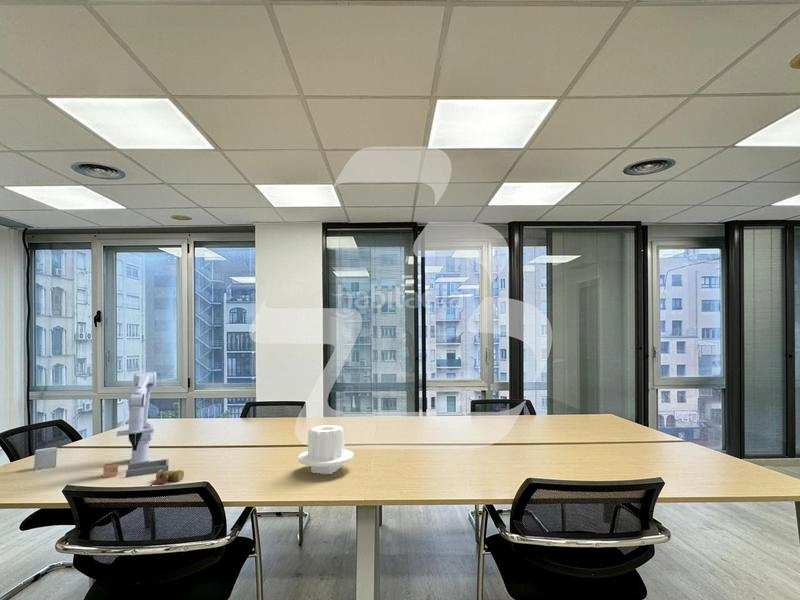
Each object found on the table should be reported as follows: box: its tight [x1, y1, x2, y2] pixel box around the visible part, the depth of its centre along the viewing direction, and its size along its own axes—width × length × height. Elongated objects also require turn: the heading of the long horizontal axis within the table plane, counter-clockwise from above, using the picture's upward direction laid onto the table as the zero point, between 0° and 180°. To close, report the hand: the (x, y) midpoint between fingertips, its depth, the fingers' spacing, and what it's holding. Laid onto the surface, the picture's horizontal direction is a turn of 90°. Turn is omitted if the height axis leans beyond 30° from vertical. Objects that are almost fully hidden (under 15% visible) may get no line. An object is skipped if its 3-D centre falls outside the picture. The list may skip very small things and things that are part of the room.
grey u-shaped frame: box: [125, 458, 170, 478], centre depth 195 cm, size 12×16×2 cm
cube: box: [102, 461, 119, 479], centre depth 188 cm, size 5×5×5 cm
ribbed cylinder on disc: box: [297, 424, 354, 475], centre depth 193 cm, size 25×25×19 cm
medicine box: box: [33, 446, 58, 470], centre depth 200 cm, size 8×4×9 cm, turn 134°
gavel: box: [149, 469, 185, 486], centre depth 173 cm, size 21×5×10 cm
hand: (134, 450), depth 195 cm, fingers closed
